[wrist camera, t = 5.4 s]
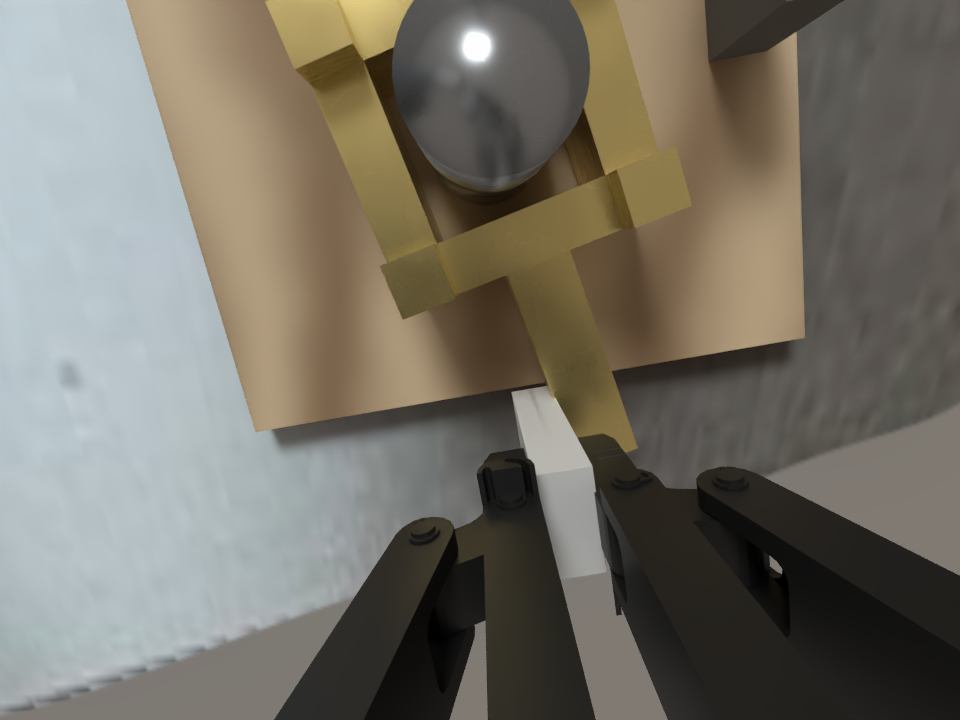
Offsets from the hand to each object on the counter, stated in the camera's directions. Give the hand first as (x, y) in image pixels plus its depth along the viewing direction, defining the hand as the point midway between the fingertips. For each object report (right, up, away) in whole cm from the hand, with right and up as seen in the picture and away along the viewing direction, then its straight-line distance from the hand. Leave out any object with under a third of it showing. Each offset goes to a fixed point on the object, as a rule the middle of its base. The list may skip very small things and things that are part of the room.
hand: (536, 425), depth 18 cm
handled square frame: (-1, +7, +1) cm, 7 cm away
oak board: (-2, +10, +1) cm, 10 cm away
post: (-2, +10, +1) cm, 10 cm away
